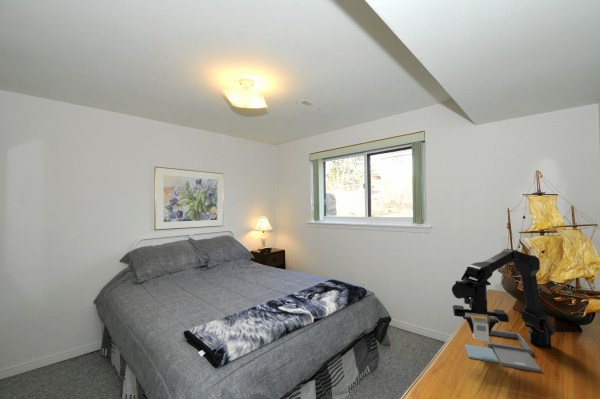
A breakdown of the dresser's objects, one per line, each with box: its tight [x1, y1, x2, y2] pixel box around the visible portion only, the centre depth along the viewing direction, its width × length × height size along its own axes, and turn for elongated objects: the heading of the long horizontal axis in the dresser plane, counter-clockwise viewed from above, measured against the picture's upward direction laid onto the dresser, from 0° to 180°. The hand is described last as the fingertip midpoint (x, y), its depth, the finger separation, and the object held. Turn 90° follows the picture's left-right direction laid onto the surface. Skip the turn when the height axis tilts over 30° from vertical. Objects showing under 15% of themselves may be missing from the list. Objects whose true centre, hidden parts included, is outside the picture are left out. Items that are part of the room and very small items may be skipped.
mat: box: [463, 343, 500, 364], centre depth 110 cm, size 10×10×1 cm
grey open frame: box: [484, 329, 542, 373], centre depth 113 cm, size 15×27×2 cm, turn 157°
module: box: [470, 316, 490, 342], centre depth 110 cm, size 5×5×7 cm
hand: (480, 334), depth 110 cm, fingers closed on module, 5 cm apart
